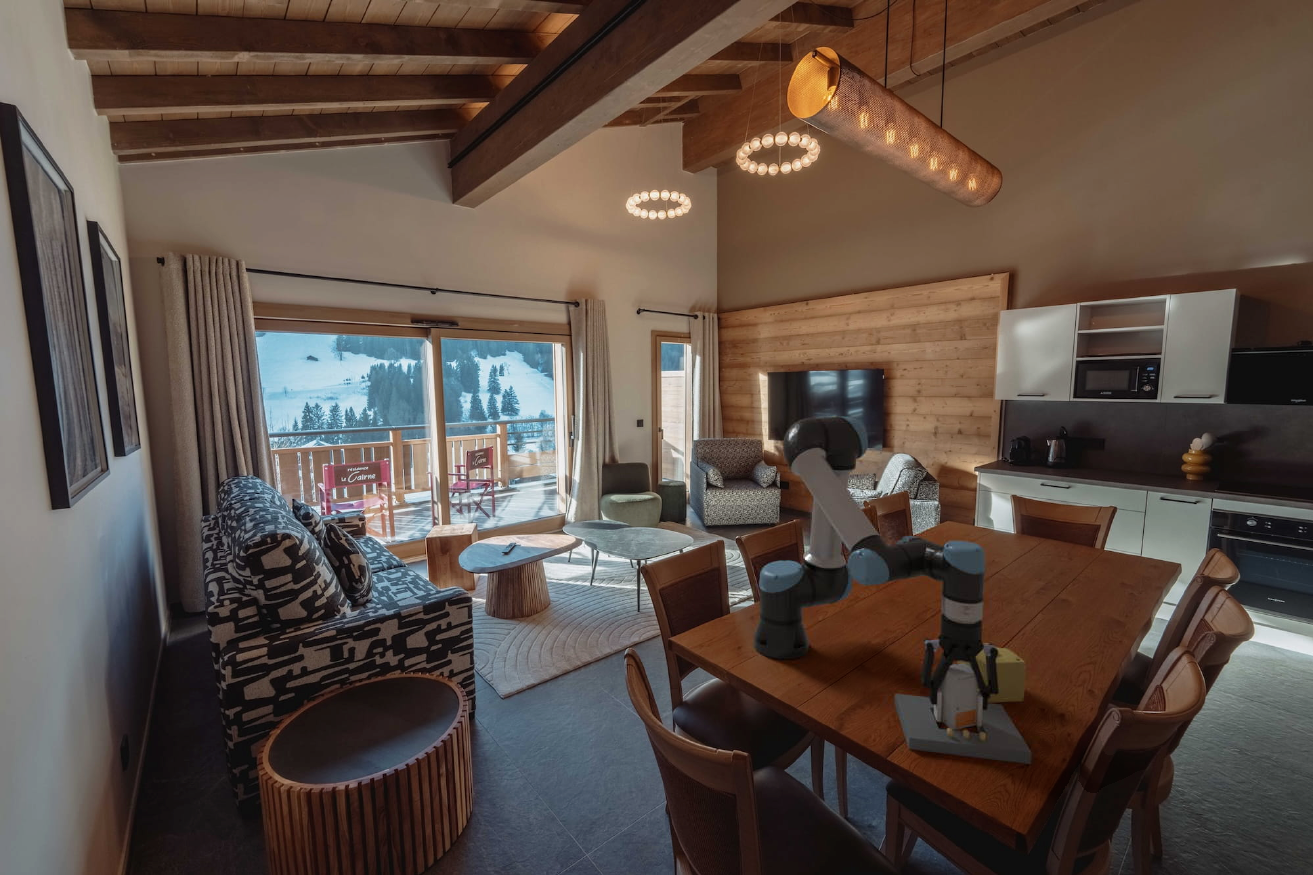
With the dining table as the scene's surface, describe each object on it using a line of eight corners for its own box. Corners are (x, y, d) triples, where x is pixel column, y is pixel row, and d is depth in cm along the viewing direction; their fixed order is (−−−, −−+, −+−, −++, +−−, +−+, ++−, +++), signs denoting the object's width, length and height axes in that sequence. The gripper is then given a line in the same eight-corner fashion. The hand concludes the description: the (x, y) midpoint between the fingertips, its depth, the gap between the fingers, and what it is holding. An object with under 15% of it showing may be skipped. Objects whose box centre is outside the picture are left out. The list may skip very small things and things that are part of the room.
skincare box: (953, 731, 116) (955, 676, 115) (938, 719, 120) (939, 666, 119) (977, 725, 117) (979, 672, 116) (961, 714, 122) (963, 662, 120)
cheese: (996, 678, 139) (998, 640, 138) (1026, 703, 128) (1029, 662, 127) (955, 679, 139) (957, 641, 138) (982, 705, 128) (984, 664, 127)
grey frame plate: (909, 749, 114) (909, 730, 113) (894, 703, 129) (895, 687, 129) (1030, 764, 109) (1032, 744, 108) (1000, 715, 124) (1001, 698, 124)
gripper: (913, 620, 115) (910, 725, 117) (1022, 628, 110) (1016, 737, 113) (906, 605, 122) (903, 704, 125) (1008, 612, 117) (1003, 715, 120)
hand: (957, 719), depth 119 cm, fingers closed on skincare box, 7 cm apart
